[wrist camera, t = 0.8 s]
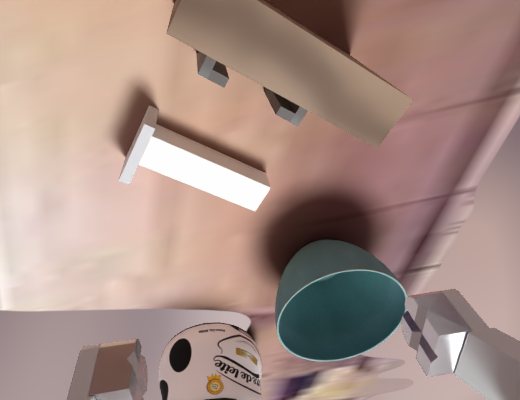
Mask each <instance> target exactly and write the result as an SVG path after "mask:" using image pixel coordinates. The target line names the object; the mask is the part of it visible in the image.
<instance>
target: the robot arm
mask: <svg viewBox="0 0 520 400" xmlns="http://www.w3.org/2000/svg"><path fill="white" fill-rule="evenodd" d="M405 307H406V309H407V311H406V312H405V313H404V314H403V315H402V320H401V326H402V332H403V335H404V337H405V340H406V341H407V343H408V345H409V346H410V347H412V348H413V349H415V350H417V356H416V359H417V361H418V362H419V364H420V366H421V367H422V369H423V371H424V373H425V374H426V376H427V377H432V376H439V375H445V374H451V373H454V375H455V376H457V377H458V378H459V379H460V380H462V381H463V382H464V383H466V384H467V385H468V386H470V387H471V388H472V389H474V390H475V391H476V392H478V393H479V394H480V395H481V396H483V397H484V398H485V399H487V400H520V341H518V340H516V339H515V338H513V337H511V336H509V335H507V334H505V333H503V332H501V331H499V330H497V329H495V328H489V327H488V326H487V325H486V323H485V322H484V321H483V320H482V319H481V317H480V316H479V315H478V314H477V313H476V312H475V311H474V309H473V308H472V307H471V306H470V304H469V303H468V302H467V301H466V300H465V298H464V297H463V296H462V295H461V294H460V293H459V291H457V290H456V289H450V290H444V291H438V292H437V291H436V292H430V293H424V294H418V295H412V296H408V297H407V298H406V300H405ZM140 354H141V345H140V342H139V339H132V340H125V341H117V342H109V343H102V344H96V345H88V346H83V348H82V349H81V351H80V353H79V357H78V360H77V364H76V367H75V371H74V375H73V378H72V382H71V386H70V390H69V394H68V397H67V400H144V399H143V395H144V393H145V392H146V391H147V366H146V361H145V357H144V356H142V355H140Z"/></svg>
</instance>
